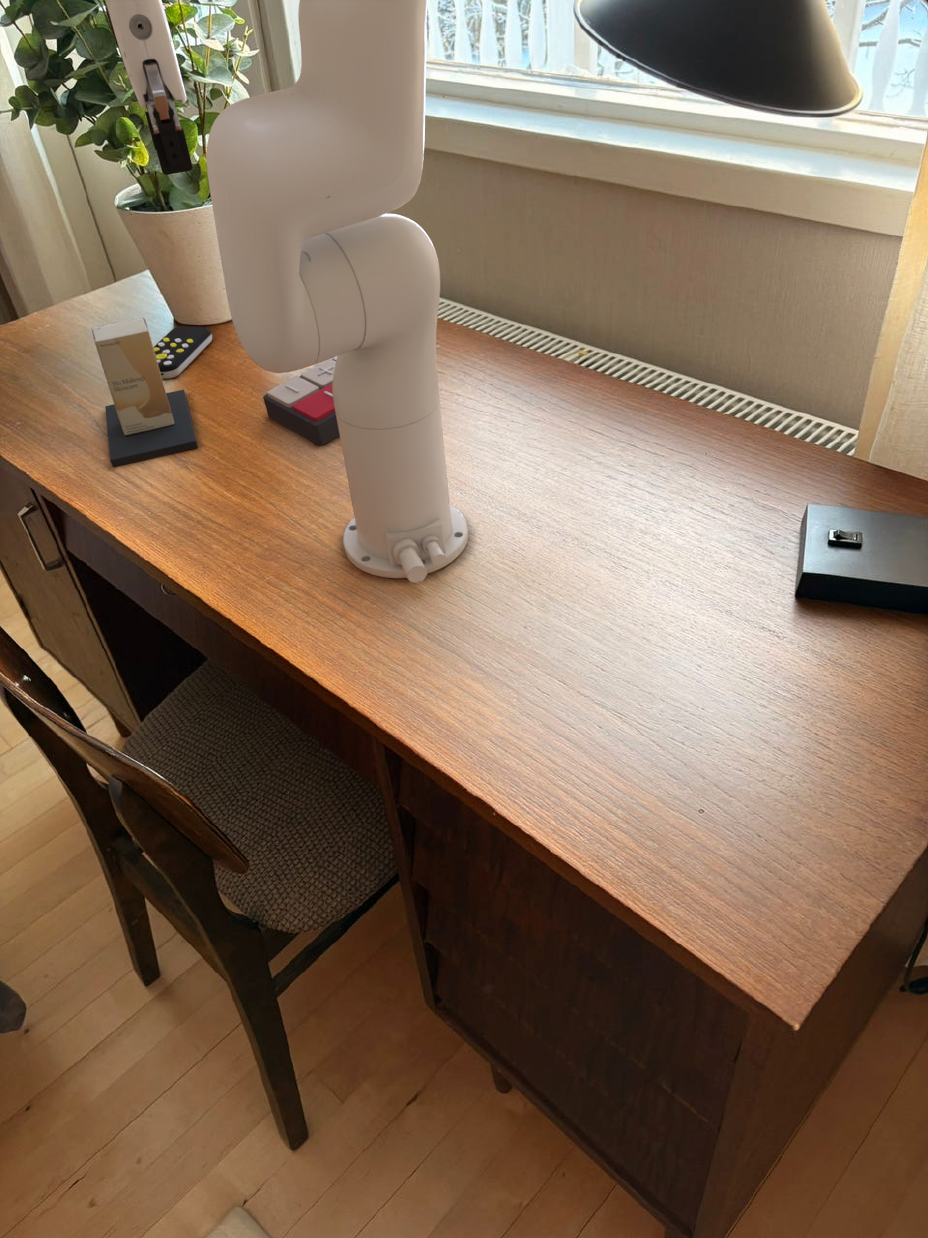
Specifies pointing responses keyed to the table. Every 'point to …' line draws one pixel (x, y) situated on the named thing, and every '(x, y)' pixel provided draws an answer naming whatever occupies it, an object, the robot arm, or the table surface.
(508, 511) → the table surface
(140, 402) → the cosmetic box
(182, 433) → the desk pad
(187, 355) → the remote control
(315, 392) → the calculator
